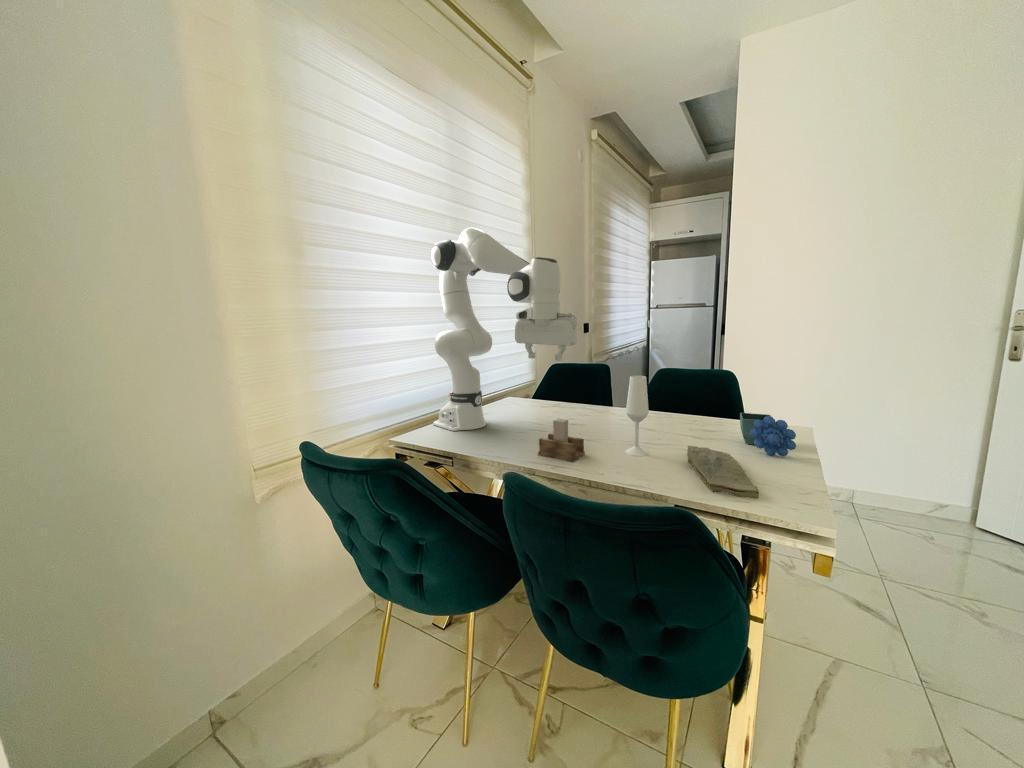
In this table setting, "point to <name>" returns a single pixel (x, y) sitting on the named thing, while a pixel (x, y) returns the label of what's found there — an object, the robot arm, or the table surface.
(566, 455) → the wooden napkin holder
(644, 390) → the champagne flute
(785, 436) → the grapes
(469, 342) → the robot arm
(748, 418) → the flower pot
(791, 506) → the table surface
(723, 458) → the stone slab
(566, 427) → the strip
